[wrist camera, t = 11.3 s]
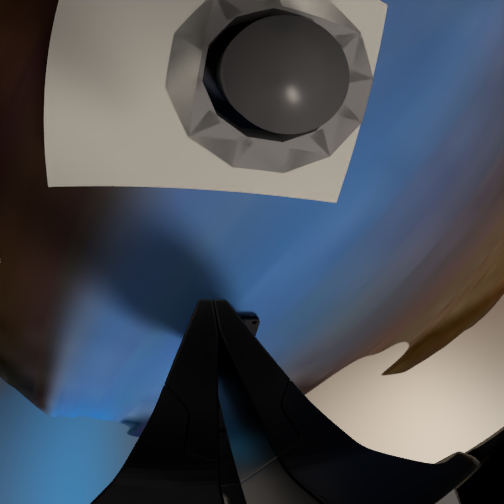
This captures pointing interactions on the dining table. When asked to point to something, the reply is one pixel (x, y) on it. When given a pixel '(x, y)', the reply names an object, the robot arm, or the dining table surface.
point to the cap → (284, 74)
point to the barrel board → (189, 99)
